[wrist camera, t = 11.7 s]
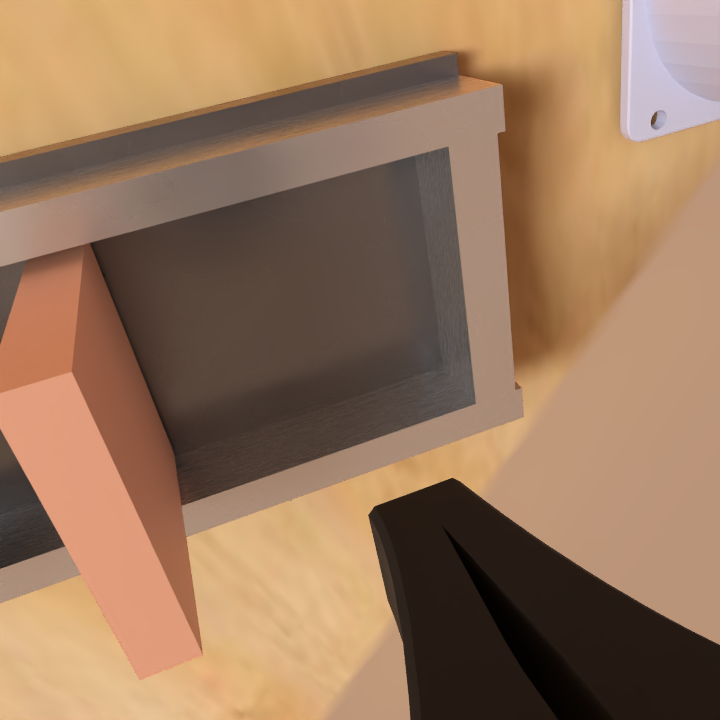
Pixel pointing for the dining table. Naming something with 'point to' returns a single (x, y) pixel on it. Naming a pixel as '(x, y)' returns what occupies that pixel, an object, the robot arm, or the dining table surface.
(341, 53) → the dining table surface
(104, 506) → the plate
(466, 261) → the pusher lane
